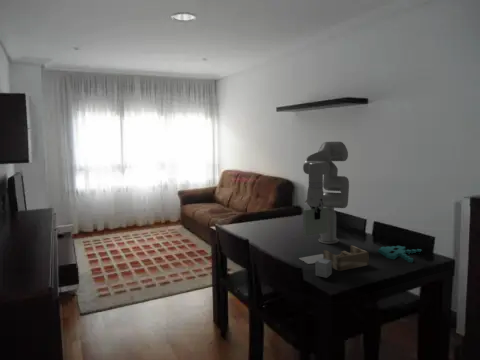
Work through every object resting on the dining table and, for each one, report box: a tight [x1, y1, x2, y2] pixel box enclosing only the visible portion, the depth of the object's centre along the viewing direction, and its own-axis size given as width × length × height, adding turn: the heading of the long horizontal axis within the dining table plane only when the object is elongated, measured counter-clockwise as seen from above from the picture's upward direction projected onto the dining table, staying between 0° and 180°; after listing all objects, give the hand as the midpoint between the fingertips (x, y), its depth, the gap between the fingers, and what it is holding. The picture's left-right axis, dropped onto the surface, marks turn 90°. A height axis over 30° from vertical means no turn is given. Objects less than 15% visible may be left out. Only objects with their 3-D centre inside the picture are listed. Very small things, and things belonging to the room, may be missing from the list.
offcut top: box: [340, 250, 351, 256], centre depth 196 cm, size 2×6×2 cm, turn 22°
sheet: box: [302, 207, 328, 237], centre depth 202 cm, size 2×14×14 cm, turn 112°
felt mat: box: [298, 253, 323, 265], centre depth 204 cm, size 10×16×1 cm, turn 112°
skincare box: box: [314, 258, 333, 279], centre depth 182 cm, size 6×6×7 cm
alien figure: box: [377, 245, 423, 264], centre depth 209 cm, size 20×2×20 cm
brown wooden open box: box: [322, 245, 370, 272], centre depth 196 cm, size 13×19×7 cm
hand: (315, 218), depth 201 cm, fingers closed on sheet, 2 cm apart
